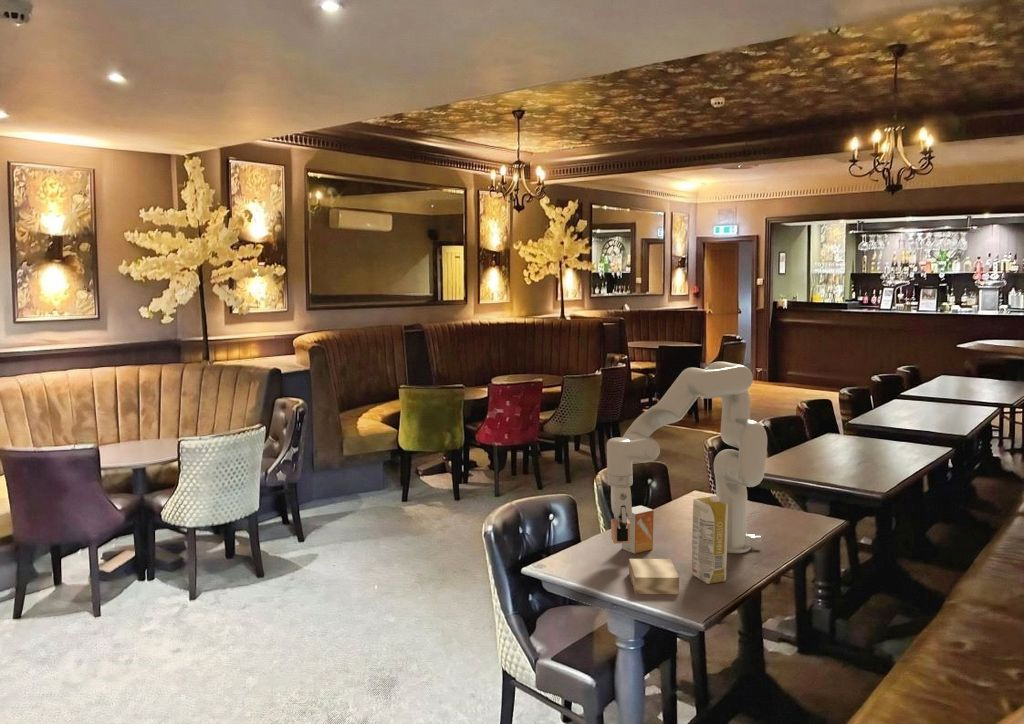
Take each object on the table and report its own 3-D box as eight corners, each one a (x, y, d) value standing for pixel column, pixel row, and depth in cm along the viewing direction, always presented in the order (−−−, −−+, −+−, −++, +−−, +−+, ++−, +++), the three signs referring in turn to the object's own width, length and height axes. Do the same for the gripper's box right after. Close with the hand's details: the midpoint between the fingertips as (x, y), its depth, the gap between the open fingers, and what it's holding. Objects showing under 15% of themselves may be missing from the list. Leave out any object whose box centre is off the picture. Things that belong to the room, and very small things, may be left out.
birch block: (670, 575, 222) (670, 559, 221) (678, 595, 208) (679, 577, 207) (629, 575, 222) (629, 558, 222) (634, 594, 208) (635, 577, 208)
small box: (634, 554, 238) (635, 514, 236) (621, 548, 243) (621, 509, 242) (653, 549, 242) (654, 509, 241) (639, 543, 248) (640, 504, 246)
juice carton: (730, 582, 215) (732, 499, 213) (706, 586, 213) (708, 502, 210) (710, 570, 224) (712, 491, 222) (687, 574, 221) (689, 494, 219)
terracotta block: (627, 537, 233) (627, 518, 232) (630, 542, 228) (630, 523, 227) (611, 537, 232) (611, 518, 232) (614, 543, 227) (613, 524, 227)
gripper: (637, 486, 219) (638, 547, 222) (627, 471, 236) (628, 527, 238) (612, 487, 219) (613, 548, 221) (603, 472, 236) (604, 528, 238)
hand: (620, 537), depth 230 cm, fingers closed on terracotta block, 5 cm apart
